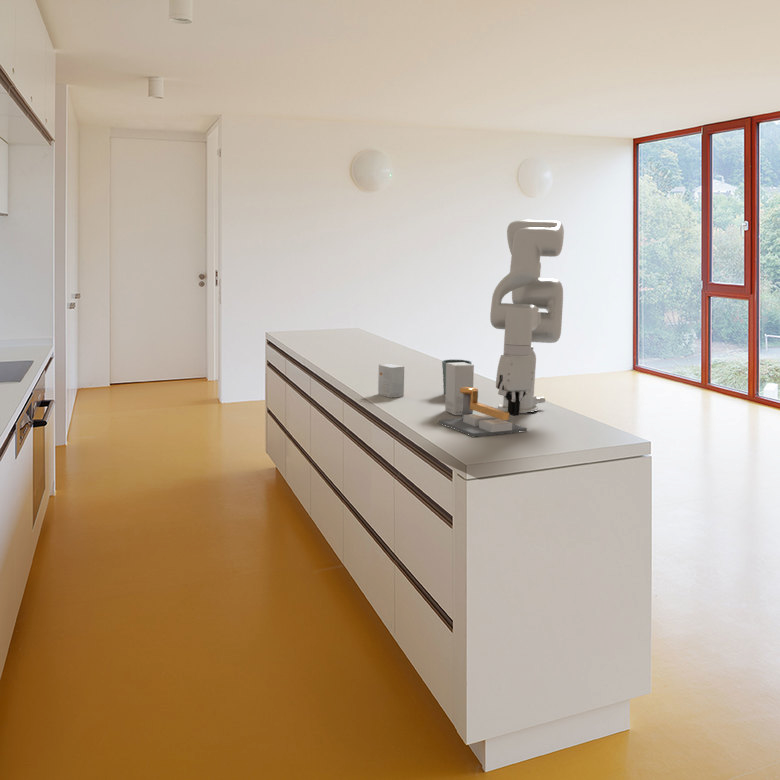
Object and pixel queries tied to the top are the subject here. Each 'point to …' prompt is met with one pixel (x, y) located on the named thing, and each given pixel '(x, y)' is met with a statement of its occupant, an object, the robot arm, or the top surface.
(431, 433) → the top surface
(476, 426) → the sled board
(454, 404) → the skincare box
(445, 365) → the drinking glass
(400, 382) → the small box
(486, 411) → the orange crank handle
